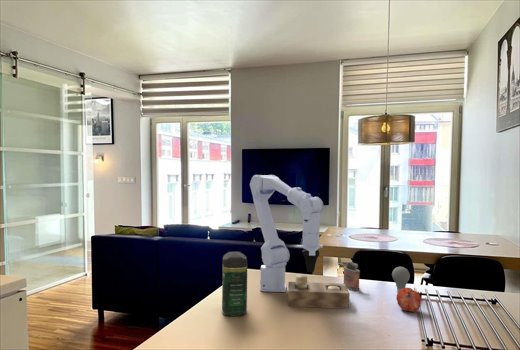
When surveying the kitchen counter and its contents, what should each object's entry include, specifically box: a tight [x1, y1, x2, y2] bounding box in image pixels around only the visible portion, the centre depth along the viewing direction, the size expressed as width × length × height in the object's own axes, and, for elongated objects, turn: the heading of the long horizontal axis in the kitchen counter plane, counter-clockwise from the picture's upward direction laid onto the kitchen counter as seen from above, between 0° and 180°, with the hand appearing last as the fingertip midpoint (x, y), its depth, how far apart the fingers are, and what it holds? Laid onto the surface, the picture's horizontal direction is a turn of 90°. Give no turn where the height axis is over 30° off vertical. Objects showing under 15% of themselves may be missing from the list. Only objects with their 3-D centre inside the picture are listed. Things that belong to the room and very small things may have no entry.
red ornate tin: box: [342, 261, 361, 292], centre depth 136 cm, size 8×3×10 cm, turn 25°
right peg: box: [328, 286, 340, 290], centre depth 121 cm, size 4×4×5 cm
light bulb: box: [391, 266, 411, 293], centre depth 130 cm, size 6×6×10 cm
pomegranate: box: [396, 287, 422, 313], centre depth 115 cm, size 7×7×10 cm
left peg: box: [295, 274, 308, 289], centre depth 122 cm, size 4×4×5 cm
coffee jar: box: [221, 251, 248, 317], centre depth 113 cm, size 10×8×19 cm
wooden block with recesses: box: [287, 281, 351, 309], centre depth 121 cm, size 20×10×5 cm, turn 85°
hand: (310, 271), depth 122 cm, fingers closed
